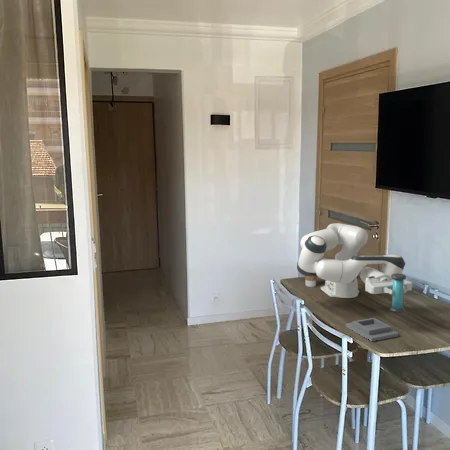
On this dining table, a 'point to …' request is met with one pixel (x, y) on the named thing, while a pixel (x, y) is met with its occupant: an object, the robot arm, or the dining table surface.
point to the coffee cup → (310, 281)
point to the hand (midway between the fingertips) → (399, 291)
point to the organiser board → (372, 329)
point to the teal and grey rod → (397, 293)
